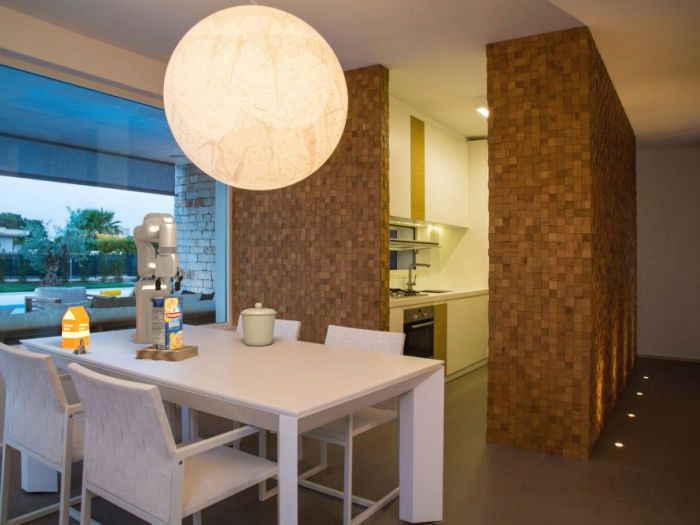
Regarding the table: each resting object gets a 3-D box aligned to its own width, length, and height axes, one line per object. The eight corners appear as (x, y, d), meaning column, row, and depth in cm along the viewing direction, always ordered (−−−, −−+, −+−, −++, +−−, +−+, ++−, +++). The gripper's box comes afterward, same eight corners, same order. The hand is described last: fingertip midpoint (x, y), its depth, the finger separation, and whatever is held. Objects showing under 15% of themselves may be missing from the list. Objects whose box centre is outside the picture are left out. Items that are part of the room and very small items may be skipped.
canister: (280, 342, 282) (280, 301, 281) (271, 348, 264) (271, 304, 263) (246, 341, 283) (246, 301, 283) (235, 347, 265) (235, 304, 265)
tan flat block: (136, 359, 233) (136, 349, 233) (159, 353, 249) (159, 343, 249) (177, 361, 228) (177, 351, 228) (198, 355, 243) (198, 345, 243)
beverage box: (152, 349, 235) (152, 298, 235) (170, 345, 245) (170, 296, 245) (164, 350, 232) (164, 298, 232) (182, 346, 242) (182, 297, 242)
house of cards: (60, 357, 239) (60, 339, 239) (75, 354, 247) (75, 337, 247) (78, 358, 237) (78, 340, 237) (92, 354, 245) (92, 337, 245)
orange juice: (61, 349, 257) (61, 307, 257) (76, 347, 265) (76, 305, 265) (75, 350, 254) (75, 307, 254) (89, 347, 263) (89, 306, 263)
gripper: (145, 251, 237) (145, 290, 237) (180, 251, 232) (180, 291, 232) (156, 251, 244) (155, 289, 244) (190, 251, 239) (190, 290, 240)
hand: (167, 290), depth 238 cm, fingers open, 9 cm apart
